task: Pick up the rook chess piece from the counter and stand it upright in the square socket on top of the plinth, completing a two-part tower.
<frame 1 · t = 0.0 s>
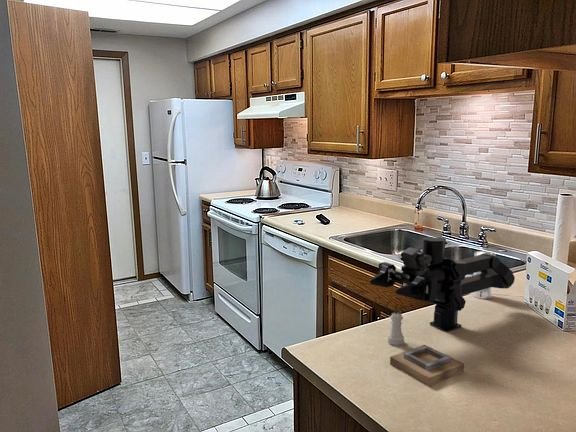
hand: (382, 286, 120), 17 cm above the worktop, tool horizontal, fingers open, 9 cm apart
plinth: (426, 367, 112), on the worktop
rook chess piece: (395, 343, 126), on the worktop
beer glass: (481, 296, 161), on the worktop
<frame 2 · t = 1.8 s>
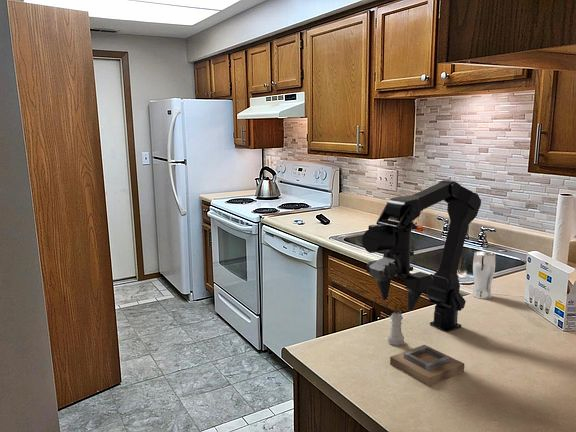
hand: (397, 304, 124), 11 cm above the worktop, tool pointing down, fingers open, 9 cm apart
nothing on the worktop moved.
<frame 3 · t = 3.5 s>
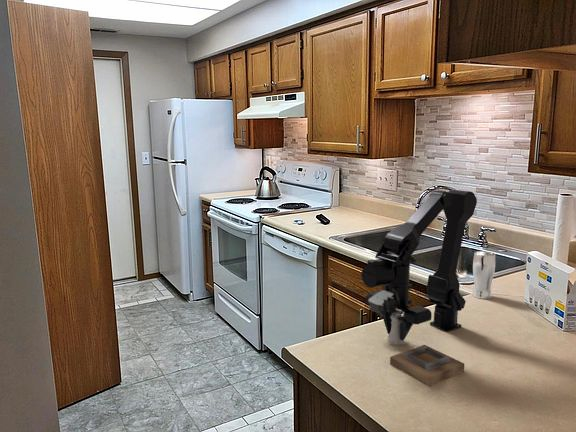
hand: (395, 336, 126), 2 cm above the worktop, tool pointing down, fingers closed on rook chess piece, 4 cm apart
rook chess piece: (395, 343, 126), on the worktop, touching gripper
everything else where it was.
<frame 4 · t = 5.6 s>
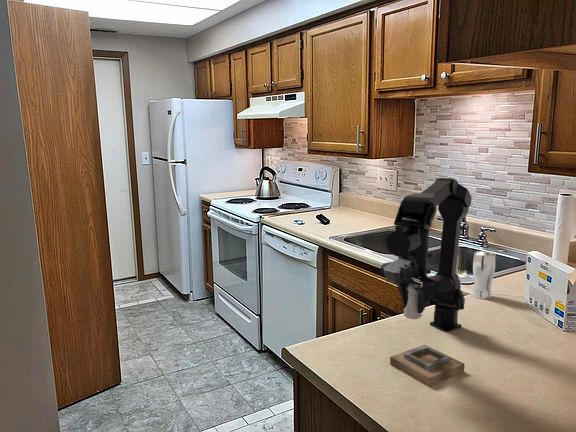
hand: (413, 309, 116), 12 cm above the worktop, tool pointing down, fingers closed on rook chess piece, 4 cm apart
rook chess piece: (412, 317, 116), point 10 cm above the worktop, touching gripper
everything else where it was.
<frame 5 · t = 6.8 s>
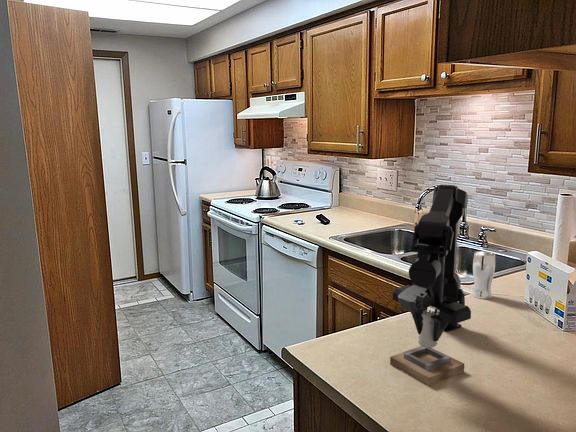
hand: (427, 337, 111), 8 cm above the worktop, tool pointing down, fingers closed on rook chess piece, 4 cm apart
rook chess piece: (427, 344, 111), point 6 cm above the worktop, touching gripper
everything else where it was.
when the fingers open (6 cm above the worktop, at t = 7.9 s): rook chess piece drops 2 cm, resting on plinth.
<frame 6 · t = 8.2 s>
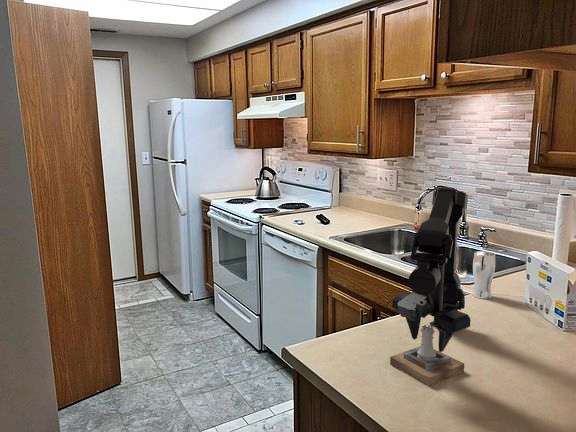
hand: (427, 345, 111), 6 cm above the worktop, tool pointing down, fingers open, 8 cm apart
rook chess piece: (426, 360, 112), point 2 cm above the worktop, touching plinth
everything else where it was.
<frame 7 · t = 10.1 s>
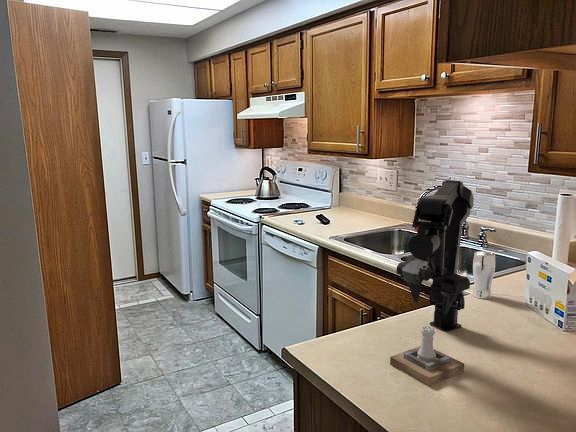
hand: (429, 307, 120), 11 cm above the worktop, tool pointing down, fingers open, 9 cm apart
nothing on the worktop moved.
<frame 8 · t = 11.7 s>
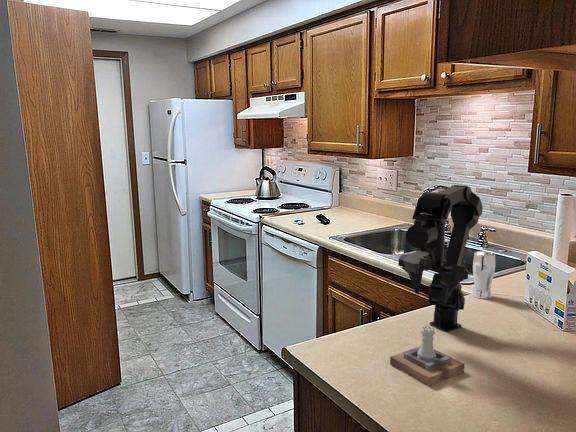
hand: (430, 298, 125), 12 cm above the worktop, tool pointing down, fingers open, 9 cm apart
nothing on the worktop moved.
at the end: rook chess piece 0.1 cm off-centre on the plinth, point 1.8 cm above the plinth's base; rook chess piece tilted 0°; the gripper is holding nothing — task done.
